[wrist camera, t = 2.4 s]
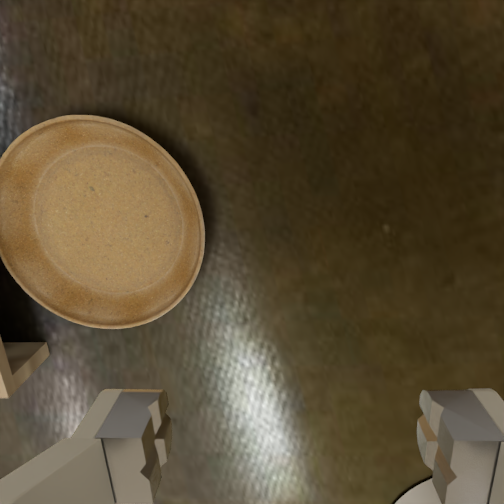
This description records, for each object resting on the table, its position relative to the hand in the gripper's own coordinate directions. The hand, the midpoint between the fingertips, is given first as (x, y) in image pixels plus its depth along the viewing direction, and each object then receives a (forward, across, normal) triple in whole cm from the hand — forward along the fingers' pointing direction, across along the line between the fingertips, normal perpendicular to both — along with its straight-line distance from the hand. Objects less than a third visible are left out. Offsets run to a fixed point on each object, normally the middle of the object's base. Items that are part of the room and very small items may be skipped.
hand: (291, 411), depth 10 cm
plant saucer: (+20, +12, 0) cm, 23 cm away
